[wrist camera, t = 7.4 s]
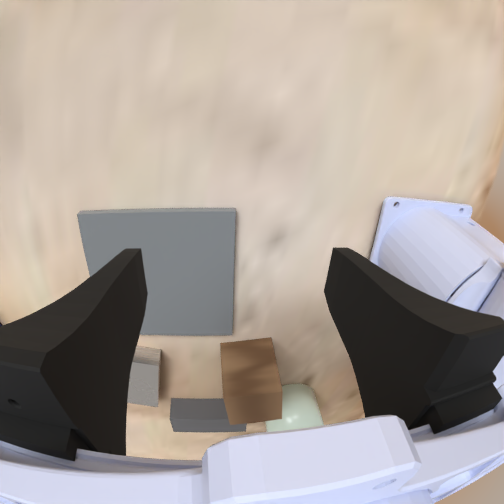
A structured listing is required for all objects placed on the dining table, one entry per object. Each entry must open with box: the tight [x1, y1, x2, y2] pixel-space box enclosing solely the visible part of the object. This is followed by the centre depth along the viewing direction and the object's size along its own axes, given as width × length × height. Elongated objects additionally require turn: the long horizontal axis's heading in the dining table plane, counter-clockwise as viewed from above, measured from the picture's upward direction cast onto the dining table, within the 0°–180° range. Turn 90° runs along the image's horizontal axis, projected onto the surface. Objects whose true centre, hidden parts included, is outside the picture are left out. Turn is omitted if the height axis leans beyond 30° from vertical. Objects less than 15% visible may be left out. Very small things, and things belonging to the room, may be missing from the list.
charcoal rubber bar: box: [170, 398, 247, 432], centre depth 31 cm, size 8×3×3 cm, turn 87°
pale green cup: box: [265, 384, 324, 432], centre depth 31 cm, size 6×6×5 cm
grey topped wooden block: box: [127, 346, 161, 407], centre depth 27 cm, size 7×5×2 cm
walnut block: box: [220, 338, 283, 425], centre depth 26 cm, size 4×4×6 cm
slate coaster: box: [77, 208, 236, 336], centre depth 23 cm, size 11×11×1 cm
